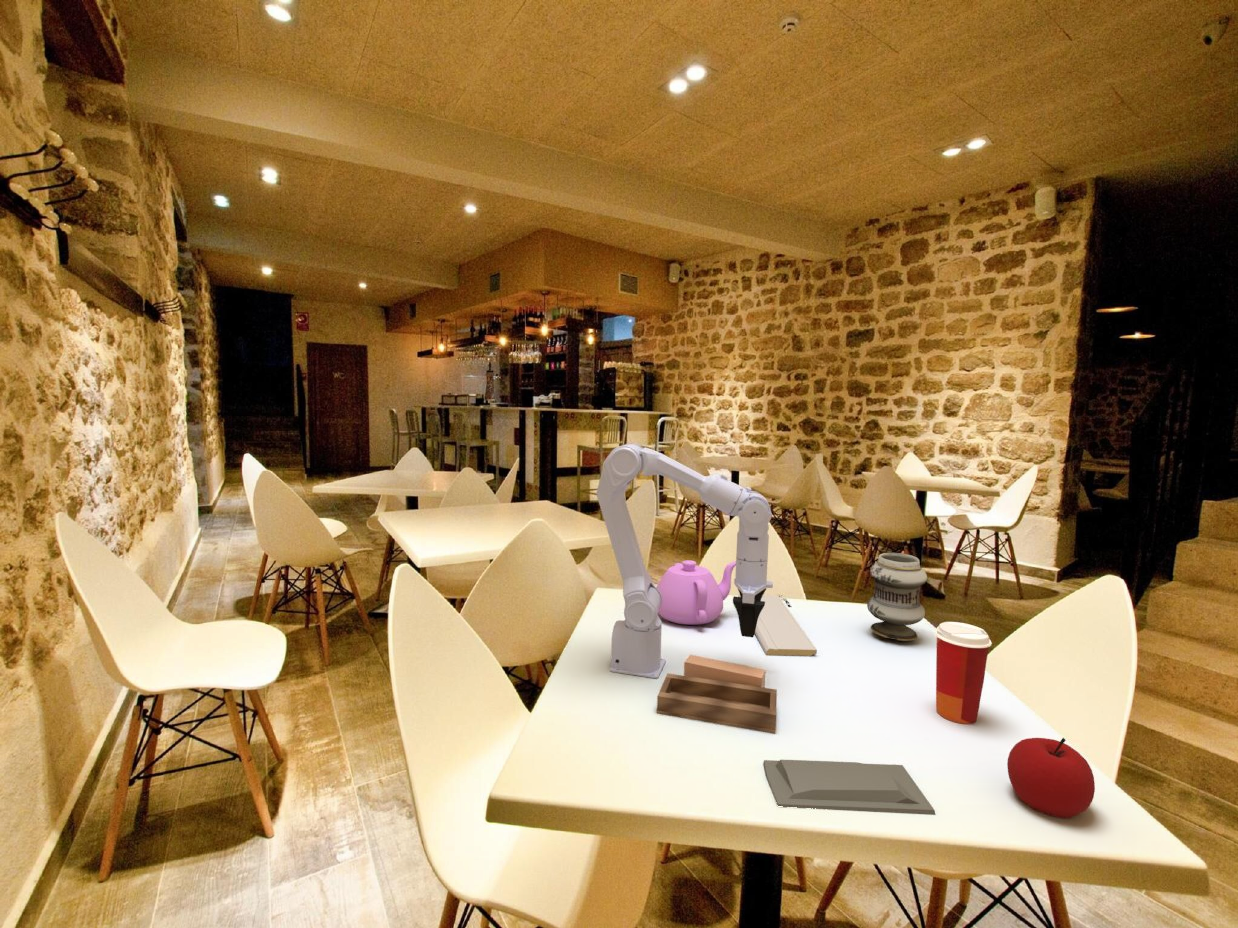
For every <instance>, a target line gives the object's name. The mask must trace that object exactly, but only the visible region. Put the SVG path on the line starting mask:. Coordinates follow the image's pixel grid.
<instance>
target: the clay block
mask: <svg viewBox="0 0 1238 928" xmlns="http://www.w3.org/2000/svg"><path fill="white" fill-rule="evenodd" d="M683 666H684V667H683V676H689V677H696V678H702V679H709V680H716V681H722V682H729V683H736V684H743V685H749V686H756V687H763V688H766V687H765V686H766V669H762V668H760V667H759V668H758V667H753V666H748V665H743V664H739V663H733V662H730V661H729V662H728V661H723V660H719V659H713V658H708V657H704V656H699V655H694V654H689V655H688V657H687V658H686V659H685V661H684V664H683Z"/></svg>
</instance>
